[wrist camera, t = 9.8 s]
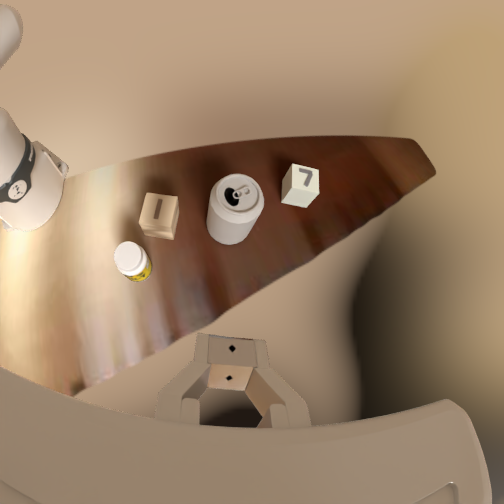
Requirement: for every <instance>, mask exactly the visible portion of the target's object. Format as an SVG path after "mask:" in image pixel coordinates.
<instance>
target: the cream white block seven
mask: <svg viewBox="0 0 504 504" xmlns="http://www.w3.org/2000/svg"><path fill="white" fill-rule="evenodd" d="M318 194H319V174H318V170H317V169H313V168H309V167H305V166H301V165H297V164H292V165H291V167H290V168H289V170H288V172H287V173H286V175H285V176H284V178H283V180H282V198H281V203H286V204H291V205H296V206H301V207H307V206H308V205H309V204H310V203H311V202H312V201H313V200H314V199H315V197H316V196H317V195H318Z"/></svg>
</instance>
